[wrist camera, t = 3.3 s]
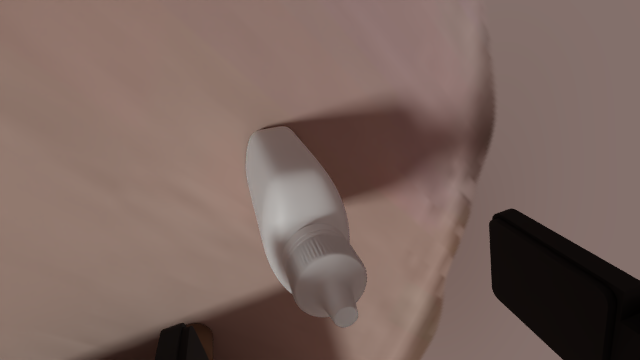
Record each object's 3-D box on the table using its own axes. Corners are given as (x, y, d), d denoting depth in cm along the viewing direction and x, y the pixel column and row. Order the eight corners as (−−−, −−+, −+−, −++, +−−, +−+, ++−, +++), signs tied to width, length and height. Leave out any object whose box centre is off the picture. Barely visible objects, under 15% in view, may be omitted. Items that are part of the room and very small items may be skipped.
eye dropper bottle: (329, 139, 21) (452, 245, 10) (295, 225, 22) (372, 398, 12) (255, 114, 20) (310, 209, 9) (224, 208, 21) (237, 390, 10)
